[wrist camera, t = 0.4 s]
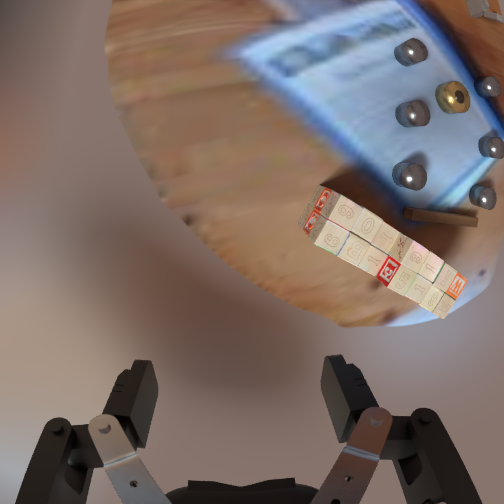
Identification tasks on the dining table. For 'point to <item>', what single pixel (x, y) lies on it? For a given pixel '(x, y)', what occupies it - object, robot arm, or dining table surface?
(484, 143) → the spacers
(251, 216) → the dining table surface
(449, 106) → the gold short domed cylinder
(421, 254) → the stack of blocks
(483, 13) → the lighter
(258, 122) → the dining table surface
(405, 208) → the bar
